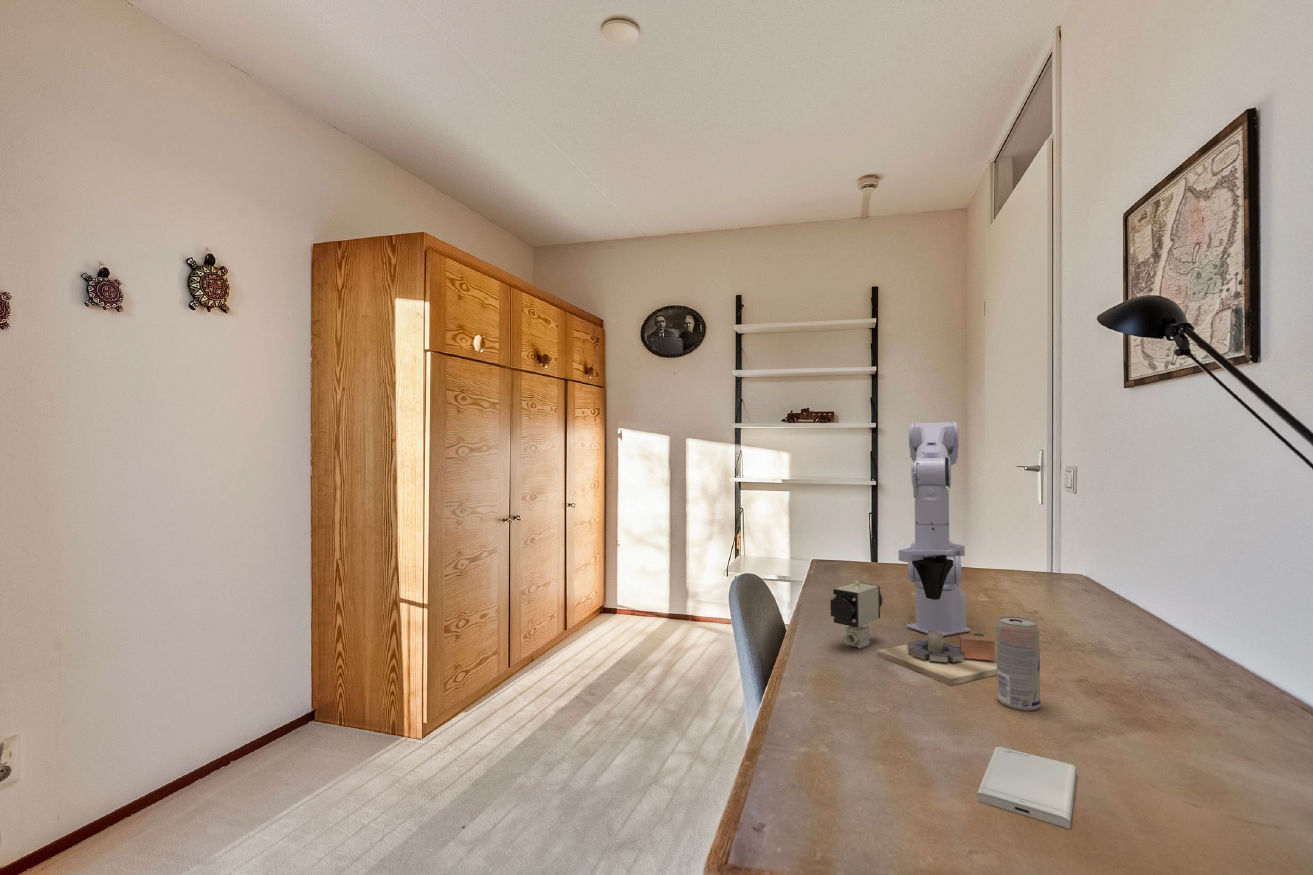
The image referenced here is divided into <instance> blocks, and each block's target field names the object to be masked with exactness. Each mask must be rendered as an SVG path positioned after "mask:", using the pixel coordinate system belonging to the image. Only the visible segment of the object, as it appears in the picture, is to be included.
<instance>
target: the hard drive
mask: <svg viewBox="0 0 1313 875" xmlns="http://www.w3.org/2000/svg"><path fill="white" fill-rule="evenodd" d="M1076 781H1077V767H1076V766H1075V765H1073V764H1072V763H1071V764H1070V763H1067V762H1063V761H1060V760H1055V759H1052V758H1047V757H1042V756H1039V755H1036V754H1030V753H1028V752H1022V751H1018V750H1014V749H1010V748H1006V747H1003V746H995V748H994V750H993V753H992V755H991V758H990V761H989V763H988V765H987V768H986V770H985V773H984V775H983V777H982V781H981V783H980V785H979V788H978V791H977V793H976V794H977V796H976V801H977V802H979V803H983V804H986V805H989V806H993V807H995V808H1000V809H1003V810H1005V811H1008V812H1013V813H1016V814H1019V815H1023V816H1026V817H1028V818H1032V819H1036V820H1038V821H1041V822H1047V823H1048V824H1051V825H1055V826H1059V827H1062V828H1065V829H1069V830H1070V829H1071V824H1072V823H1071V822H1072V815H1073V807H1074V799H1075V791H1076V790H1075V789H1076V783H1077V782H1076Z"/></svg>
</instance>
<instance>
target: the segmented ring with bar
mask: <svg viewBox="0 0 1313 875" xmlns="http://www.w3.org/2000/svg"><path fill="white" fill-rule="evenodd" d="M950 643H951V642H948V643H943V651H945V652H944V653H939V652H930V651H927V650H924V649H928V639H927V640H926V639H924V640H920V639H919V640H914V641H913V640H912V641H909V642H908V643H906V645H907V650H908V653H911V655H913V656H916V657H919V658H921V659H929V660H930V661H939V662H948V661H951V662H956V661H960V660H964V658H972V659H983V660H994V661H995V658H996V656H995V640H994V638H992V637H991V636H985V635H984V636H974V635H969V634H959V645H957V644H954V643H951V644H950ZM953 644H954V645H953ZM956 645H957V646H956ZM959 646H960V647H959Z"/></svg>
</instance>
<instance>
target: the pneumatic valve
mask: <svg viewBox="0 0 1313 875" xmlns="http://www.w3.org/2000/svg"><path fill="white" fill-rule="evenodd" d="M880 590H881V587H880V585H878V584H877V585H876V584H871V583H865V582H860V581H859V580H858V581H857V580H855V581H854V582H853V583H850V584H847V585H845V584H843V585H842V586H841V585H840V586H839V587H837V588H834V589H833V596H832V598H831V599H830V607H829V608H830V617H833V623H834V624H839V625H844V626H845V627H844V632H845V636H844V640H845V641H844V645H845V646H847V647H849V646H852V647H855V648H856V647H857V648H858V649H859V650H861V649H863V648H866V647H867V646H869V645H870V644H871V642H870V636H871V635H870V634H871V633H870V631H871V628H870V627H869V626H865V627H864V625H868V624H869V623H871V622H874V621H877V620H879V619H881V606H882V604H883V596H882V594H881V591H880Z"/></svg>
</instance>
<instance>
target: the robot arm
mask: <svg viewBox="0 0 1313 875" xmlns="http://www.w3.org/2000/svg"><path fill="white" fill-rule="evenodd" d="M959 438H960V437H959V424H958V423H957V422H956V421H952V422H950V421H947V422H946V421H942V422H913V421H911V422H910V424H909V425H908V445H909V446H908V447H909V453H910V454H909V455H910V459H911V470H910V473H911V474H910V475H911V478H910V479H911V485H912V491H913V498H914V542H912V543H911V544H910V546H909V547H907V548H903V549H898V561H899V562H905V563H907V568H908V570H907V572H908V573H907V575H908V580H909V581H910V583H912V584H914V588H915V620H916V621H915V622H914V623H909V624H908V623H907V624H906V628H908V629H912V630H915V631H918V632H921V633H925V634H926V635H928V631H929V630H936V631H940V632H942V633H943V637H945V636H946V637H947V636H951V635H956V634H963V633H967V632H971V628H970V627H967V598H966V595H965V593H964V591H963V589H962V588H961V587H959V586H960V585H962V558H961V557H965V556H966V554H965V553H966V551H965V550H966V549H965V547H966V546H965V545H963V544H955V543H954V542H952V541H951V540H950V491H949V490H950V489H951V486H952V466H954V465H955V464H957V461H958V460H957V459H958V458H959ZM947 487H948V488H947Z"/></svg>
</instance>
